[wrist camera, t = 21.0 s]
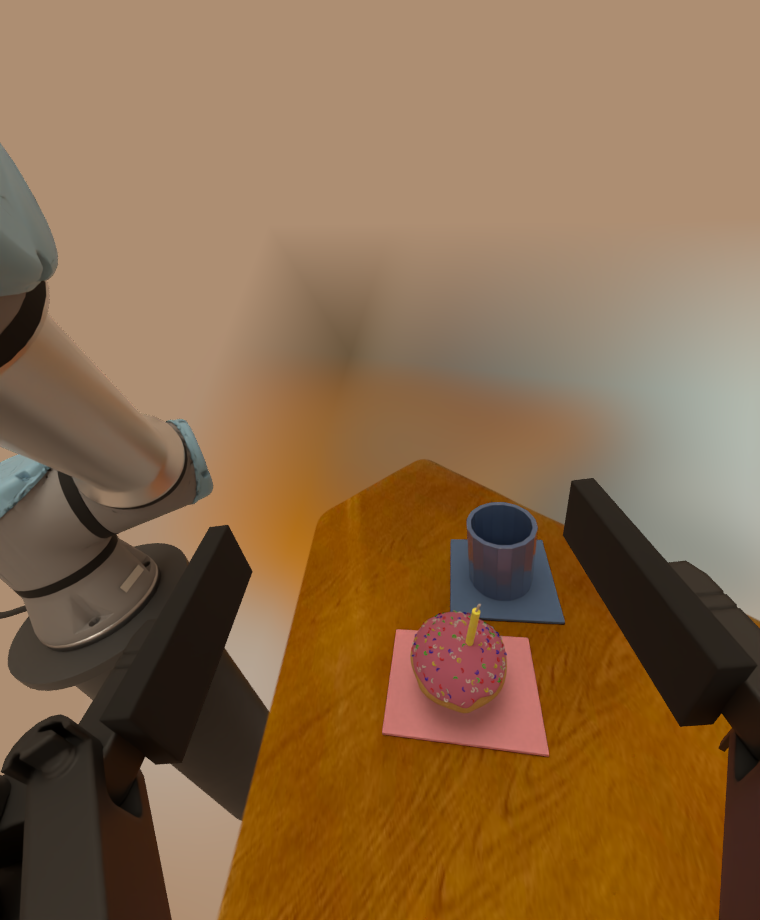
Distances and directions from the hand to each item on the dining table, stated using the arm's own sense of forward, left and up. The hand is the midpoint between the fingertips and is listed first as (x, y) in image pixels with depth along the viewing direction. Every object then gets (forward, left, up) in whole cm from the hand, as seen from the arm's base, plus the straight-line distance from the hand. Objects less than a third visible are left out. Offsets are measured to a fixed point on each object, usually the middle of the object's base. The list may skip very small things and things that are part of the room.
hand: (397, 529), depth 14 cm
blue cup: (+6, +21, -28) cm, 36 cm away
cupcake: (+1, +8, -28) cm, 29 cm away
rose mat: (+1, +8, -28) cm, 29 cm away
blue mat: (+6, +21, -28) cm, 36 cm away
